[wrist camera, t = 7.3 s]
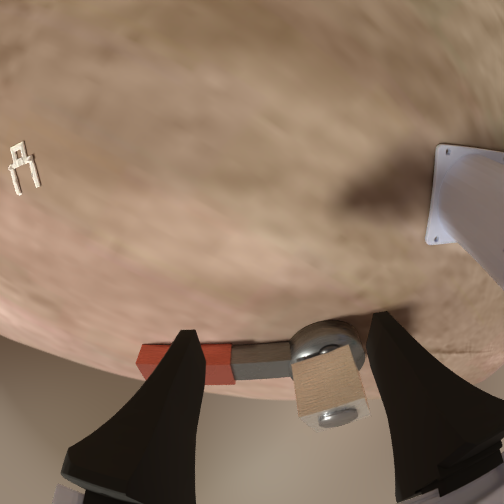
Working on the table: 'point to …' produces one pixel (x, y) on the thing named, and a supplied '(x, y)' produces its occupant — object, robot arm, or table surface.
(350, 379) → the cube block
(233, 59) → the table surface
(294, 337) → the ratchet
